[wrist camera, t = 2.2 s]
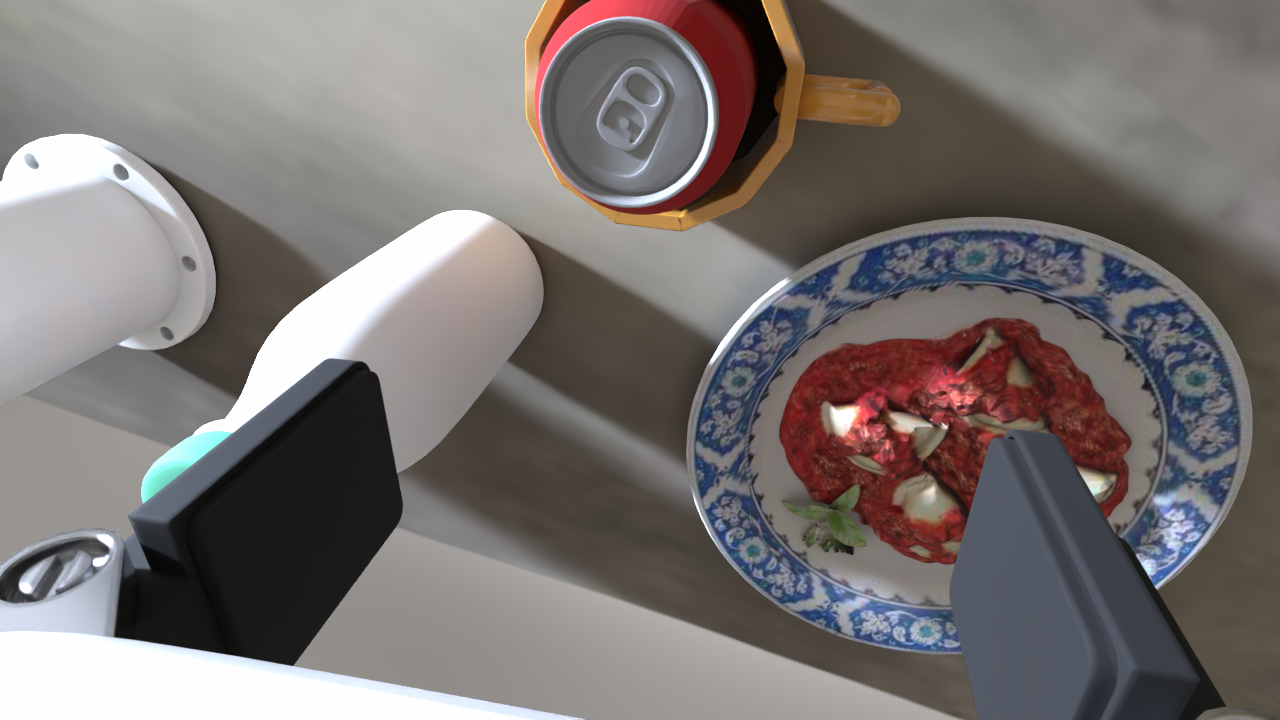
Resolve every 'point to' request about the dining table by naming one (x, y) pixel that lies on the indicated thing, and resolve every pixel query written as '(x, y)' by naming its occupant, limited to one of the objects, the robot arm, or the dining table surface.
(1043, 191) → the dining table surface
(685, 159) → the beverage can
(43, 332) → the robot arm
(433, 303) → the milk bottle
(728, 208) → the mug
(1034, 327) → the ceramic plate
